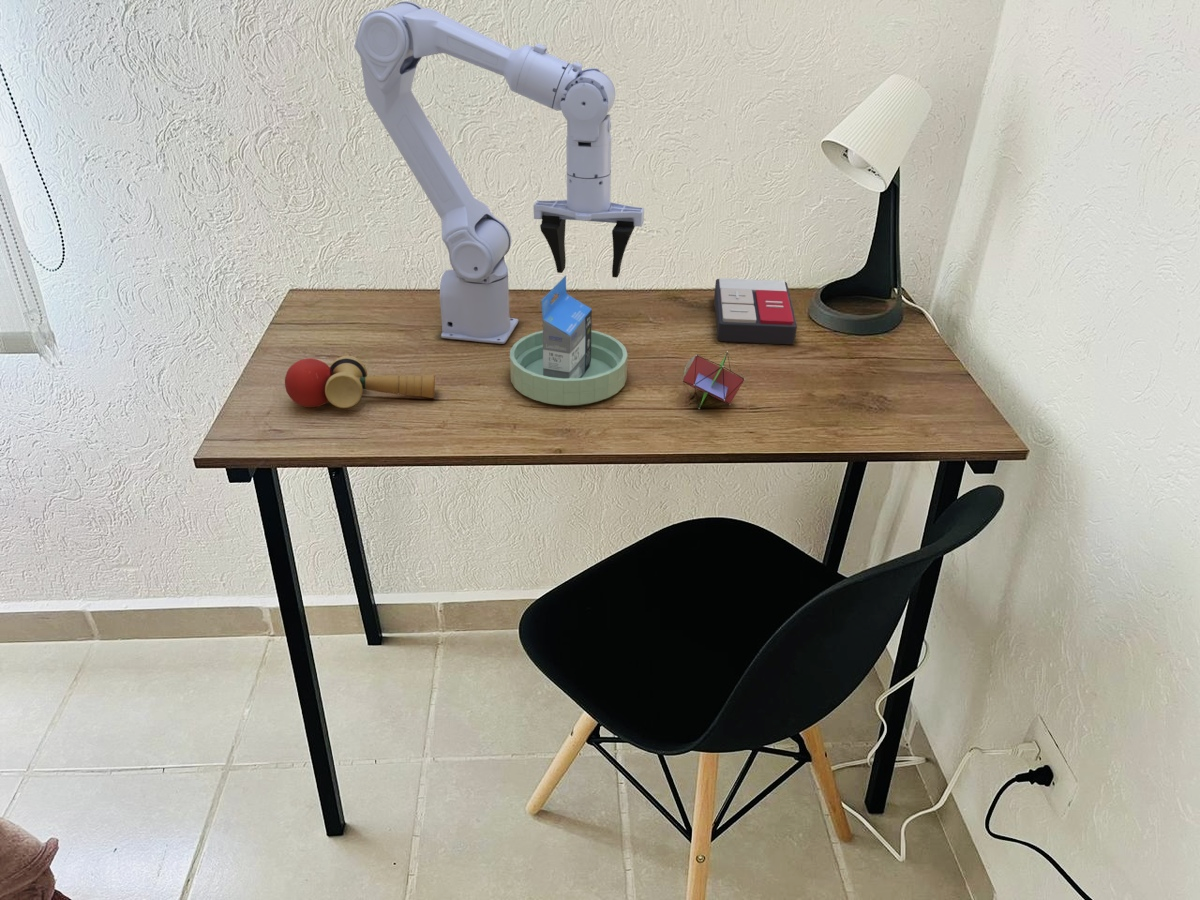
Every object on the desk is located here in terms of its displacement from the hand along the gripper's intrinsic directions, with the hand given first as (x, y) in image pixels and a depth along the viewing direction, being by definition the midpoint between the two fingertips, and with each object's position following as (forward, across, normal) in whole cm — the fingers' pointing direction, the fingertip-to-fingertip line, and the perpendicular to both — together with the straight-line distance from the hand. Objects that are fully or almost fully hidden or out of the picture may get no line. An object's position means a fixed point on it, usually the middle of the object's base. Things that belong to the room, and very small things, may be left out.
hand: (588, 272), depth 125 cm
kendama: (+10, -24, -23) cm, 35 cm away
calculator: (+11, +23, +12) cm, 28 cm away
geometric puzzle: (+11, +19, -14) cm, 26 cm away
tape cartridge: (+10, 0, -12) cm, 16 cm away
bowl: (+10, 0, -12) cm, 16 cm away
